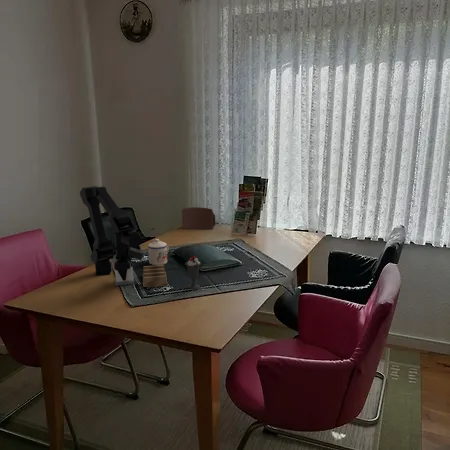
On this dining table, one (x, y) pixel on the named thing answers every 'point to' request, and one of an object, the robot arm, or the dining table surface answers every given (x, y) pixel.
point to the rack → (154, 276)
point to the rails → (124, 282)
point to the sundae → (193, 270)
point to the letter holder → (198, 218)
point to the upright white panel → (128, 277)
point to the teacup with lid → (158, 252)
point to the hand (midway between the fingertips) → (124, 278)
